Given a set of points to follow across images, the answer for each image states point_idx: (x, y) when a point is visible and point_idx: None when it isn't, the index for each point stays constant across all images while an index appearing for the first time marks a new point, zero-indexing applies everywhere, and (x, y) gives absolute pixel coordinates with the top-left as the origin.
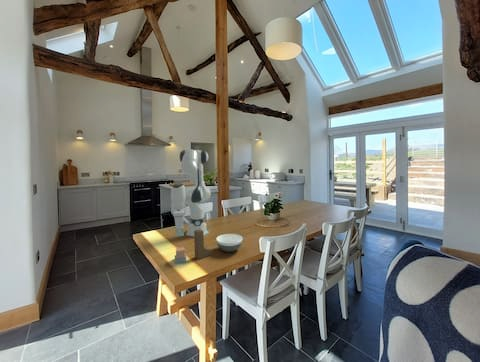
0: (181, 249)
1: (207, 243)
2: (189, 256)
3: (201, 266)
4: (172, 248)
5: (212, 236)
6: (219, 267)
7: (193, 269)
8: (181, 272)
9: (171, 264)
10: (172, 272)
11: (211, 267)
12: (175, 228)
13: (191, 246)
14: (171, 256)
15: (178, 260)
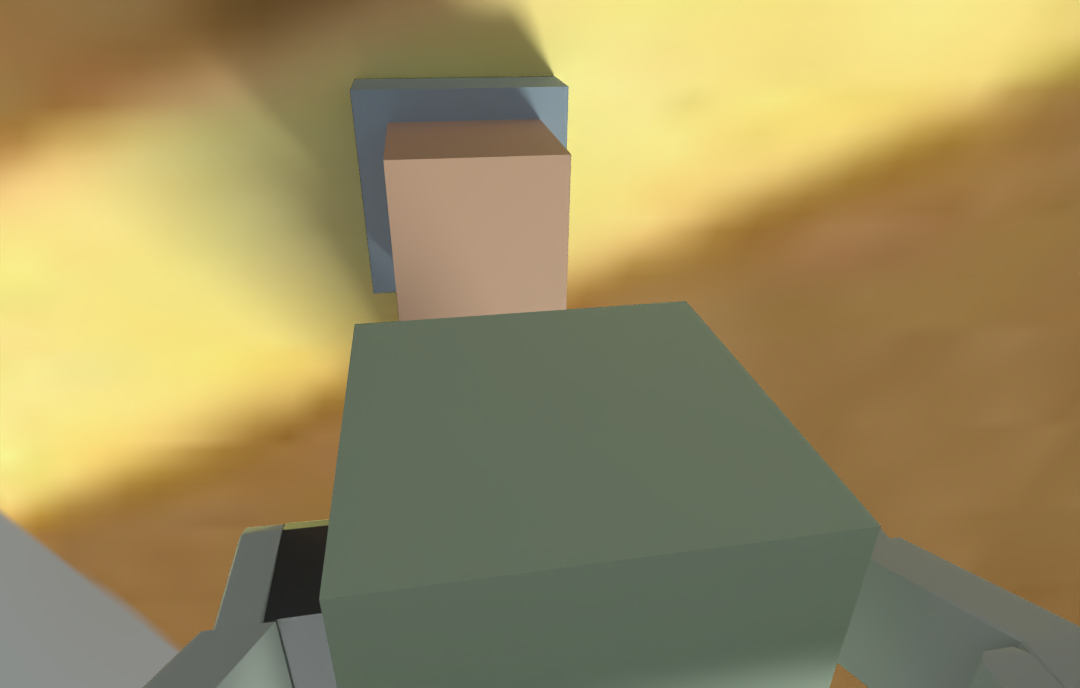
0: (461, 272)
1: (900, 507)
2: (575, 305)
3: (214, 460)
4: (1007, 14)
5: (1076, 551)
6: (172, 630)
7: (123, 369)
8: (14, 205)
9: (336, 19)
10: (6, 50)
11: (176, 561)
12: (355, 608)
13: (915, 322)
14: (674, 6)
15: (360, 159)
